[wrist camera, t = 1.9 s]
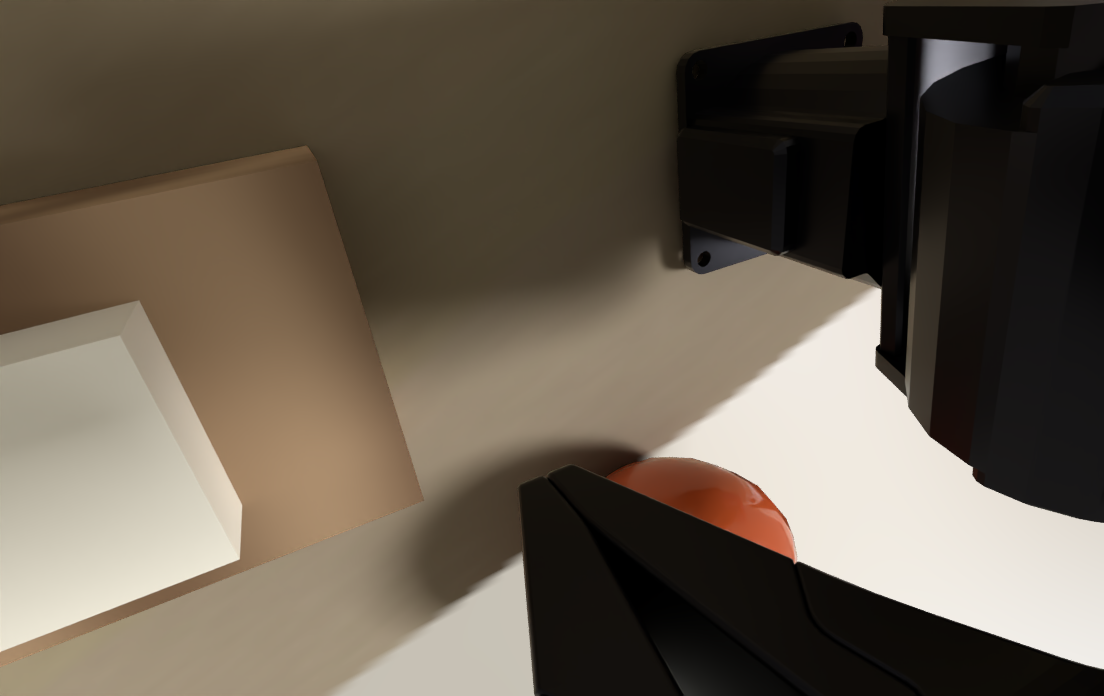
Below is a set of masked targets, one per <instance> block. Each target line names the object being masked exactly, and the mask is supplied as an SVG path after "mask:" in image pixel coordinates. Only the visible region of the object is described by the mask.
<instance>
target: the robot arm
mask: <svg viewBox="0 0 1104 696" xmlns="http://www.w3.org/2000/svg"><path fill="white" fill-rule="evenodd" d="M883 35H886V36H888V45H884V46H865V47H862V41H863V32H862V29H861V26H860V25H859V24H858V23H855V22H849V23H840V24H834V25H829V26H823V27H818V28H813V29H807V30H802V31H796V32H791V33H785V34H780V35H775V36H769V37H764V38H758V39H753V40H748V41H742V42H737V43H731V44H726V45H721V46H715V47H710V48H704V49H699V50H693V51H690V52H687V53H685V54H684V55H683V56H682V57H681V58H680V60H679V63H678V65H677V72H676V79H677V104H678V129H679V135H678V138H677V152H678V176H679V201H680V219H681V220H682V230H683V256H684V264H685V266H686V267H687V269H689V270H691V271H693V272H696V273H698V274H705V273H708V272H711V271H715V270H718V269H721V268H724V267H727V266H730V265H733V264H736V263H739V262H742V261H746V260H749V259H752V258H755V257H758V256H761V255H764V254H767V253H768V254H771V255H774V256H782V257H784V258H787V259H790V260H793V261H796V262H799V263H802V264H805V265H808V266H810V267H813V268H816V269H819V270H822V271H825V272H828V273H831V274H834V275H837V276H839V277H842V278H845V279H853V280H856V281H859V282H862V283H865V284H868V285H871V286H874V287H877V288H880V289H882V292H881V327H880V328H881V329H880V330H881V331H880V344H879V345H878V346H877V347H876V363H875V366H876V367H877V368H878V369H879V370H880V371H881V372H882V373H883V374H884V375H885V376H886V377H887V378H888V379H889V380H890V381H891V382H892V383H893V384H894V385H895V386H896V387H897V388H898V389H899V390H900V391H901V392H902V393H903V394H904V395H905V396H907V399H908V407H909V409H910V410H911V412H912V413H913V414H914V416H915V417H916V418H917V420H918V421H919V423H920V424H921V425H922V427H923V428H924V430H925V431H926V432H927V434H928V435H929V436H930V437H931V438H933V439H934V440H935V441H937V442H938V443H939V444H941V445H942V446H944V447H945V448H947V449H948V450H949V451H950V452H952V453H953V454H954V455H956V456H957V457H959V458H960V459H961V460H963V461H964V462H965V463H967V464H968V465H970V466H972V467H973V474H972V475H973V477H974V478H975V480H976V481H977V482H979V483H980V484H982V485H983V486H985V487H987V488H990V489H992V490H994V491H996V492H999V493H1001V494H1004V495H1006V496H1008V497H1011V498H1013V499H1015V500H1018V501H1020V502H1022V503H1025V504H1028V505H1031V506H1034V507H1038V508H1042V509H1045V510H1049V511H1052V512H1057V513H1060V514H1063V515H1067V516H1071V517H1075V518H1078V519H1083V520H1089V521H1094V522H1101V523H1104V0H895V1H893V2H890V3H887V4H885V5H884V9H883ZM845 37H846V43H845V46H844V40H845ZM695 63H697V64H698V67H699V72H698V75H697V77H696V78H694V77H693V74H692V70H693V66H694V64H695ZM702 252H703V258H702V259H701V261H700V262H698V257H699V255H700V254H701V253H702ZM517 492H518V504H519V516H520V528H521V540H522V552H523V564H524V575H525V588H526V600H527V612H528V623H529V635H530V647H531V660H532V672H533V685H534V694H535V696H1104V669H1100V668H1095V667H1092V666H1087V665H1084V664H1081V663H1078V662H1074V661H1071V660H1068V659H1064V658H1061V657H1058V656H1055V655H1052V654H1049V653H1047V652H1043V651H1041V650H1038V649H1034V648H1032V647H1029V646H1026V645H1023V644H1020V643H1017V642H1014V641H1011V640H1008V639H1005V638H1002V637H999V636H996V635H994V634H991V633H988V632H985V631H982V630H979V629H976V628H973V627H970V626H967V625H964V624H961V623H958V622H955V621H952V620H949V619H946V618H944V617H941V616H937V615H935V614H932V613H928V612H926V611H923V610H920V609H918V608H915V607H912V606H909V605H907V604H904V603H901V602H898V601H896V600H893V599H890V598H887V597H884V596H882V595H879V594H876V593H874V592H871V591H869V590H866V589H864V588H861V587H859V586H856V585H854V584H851V583H849V582H846V581H844V580H842V579H839V578H837V577H834V576H832V575H829V574H827V573H825V572H822V571H820V570H818V569H815V568H813V567H811V566H808V565H806V564H804V563H801V562H796V563H795V564H794V561H793V559H791V558H789V557H787V556H785V555H782V554H780V553H778V552H776V551H773V550H771V549H769V548H766V547H764V546H762V545H759V544H757V543H755V542H752V541H750V540H748V539H745V538H743V537H741V536H739V535H736V534H734V533H732V532H729V531H727V530H725V529H722V528H720V527H718V526H715V525H713V524H711V523H709V522H706V521H704V520H702V519H699V518H697V517H695V516H692V515H690V514H688V513H685V512H683V511H681V510H678V509H676V508H674V507H672V506H669V505H667V504H665V503H662V502H660V501H658V500H655V499H653V498H651V497H648V496H646V495H644V494H641V493H639V492H637V491H635V490H632V489H630V488H628V487H625V486H623V485H621V484H618V483H616V482H614V481H611V480H609V479H607V478H605V477H602V476H600V475H598V474H595V473H593V472H591V471H588V470H586V469H584V468H581V467H579V466H577V465H574V464H569V465H566V466H563V467H561V468H558V469H556V470H553V471H551V472H549V473H548V474H547V475H546V477H545V476H538V477H536V478H533V479H531V480H528V481H526V482H523V483H521V484H519V485H518V488H517Z"/></svg>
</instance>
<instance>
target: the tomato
mask: <svg viewBox="0 0 1104 696" xmlns="http://www.w3.org/2000/svg"><path fill="white" fill-rule="evenodd" d="M606 478H607V479H609V480H611V481H614V482H616V483H618V484H621V485H623V486H625V487H628V488H630V489H632V490H635V491H637V492H639V493H641V494H644V495H646V496H648V497H651V498H653V499H655V500H658V501H660V502H662V503H665V504H667V505H669V506H672V507H674V508H676V509H678V510H681V511H683V512H685V513H688V514H690V515H692V516H695V517H697V518H699V519H702V520H704V521H706V522H709V523H711V524H713V525H715V526H718V527H720V528H722V529H725V530H727V531H729V532H732V533H734V534H736V535H739V536H741V537H743V538H745V539H748V540H750V541H752V542H755V543H757V544H759V545H762V546H764V547H766V548H769V549H771V550H773V551H776V552H778V553H780V554H782V555H785V556H787V557H789V558H791V559H793V561H794V564H795V563H796V562H797V553H796V548H795V543H794V539H793V534H792V532H791V530H790V527H789V524H788V522H787V519H786V518H785V517H784V515H783V514H782V513H781V512H780V510H779V509H778V508H777V507H776V506H775V505H774V503H773V502H772V501H771V500H770V499H769V498H768V497H767V496H766V495H765V494H764V492H763V491H762V490H761V489H760V488H759V487H758V486H757V485H755V484H753V483H752V482H750V481H748V480H747V479H745V478H743V477H741V476H739V475H738V474H736V473H734V472H731V471H728V470H726V469H724V468H721V467H719V466H716V465H713V464H710V463H706V462H703V461H700V460H696V459H693V458H677V457H659V458H649V459H646V460H643V461H640V462H634V463H631V464H628V465H626V466H623V467H621V468H619V469H617V470H616V471H614V472H612V473H611V474H609V475H608V476H607V477H606Z"/></svg>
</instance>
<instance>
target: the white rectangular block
mask: <svg viewBox="0 0 1104 696" xmlns="http://www.w3.org/2000/svg"><path fill="white" fill-rule="evenodd" d="M241 520H242V504H241V502H240V500H239V498H238V496H237V494H236V492H235V490H234V488H233V486H232V484H231V482H230V480H229V478H228V476H227V474H226V472H225V470H224V468H223V466H222V464H221V462H220V460H219V458H218V456H217V454H216V452H215V450H214V448H213V446H212V444H211V442H210V440H209V438H208V436H207V434H206V432H205V430H204V428H203V426H202V424H201V422H200V420H199V418H198V416H197V414H196V412H195V410H194V408H193V406H192V404H191V402H190V400H189V398H188V396H187V394H186V392H185V390H184V388H183V387H182V385H181V383H180V381H179V379H178V377H177V375H176V373H175V371H174V369H173V367H172V365H171V363H170V361H169V359H168V357H167V355H166V353H165V351H164V349H163V347H162V345H161V343H160V341H159V339H158V337H157V335H156V333H155V331H154V329H153V327H152V325H151V323H150V321H149V319H148V317H147V315H146V313H145V311H144V309H143V307H142V305H141V303H140V301H139V300H138V301H134V302H130V303H126V304H122V305H118V306H114V307H110V308H106V309H102V310H98V311H94V312H90V313H86V314H82V315H78V316H74V317H70V318H66V319H62V320H58V321H54V322H50V323H46V324H42V325H38V326H34V327H30V328H26V329H22V330H18V331H14V332H10V333H6V334H2V335H0V652H1V651H4V650H6V649H9V648H12V647H14V646H17V645H19V644H22V643H25V642H27V641H30V640H32V639H35V638H38V637H40V636H43V635H45V634H48V633H50V632H53V631H56V630H58V629H61V628H63V627H66V626H69V625H71V624H74V623H76V622H79V621H82V620H84V619H87V618H89V617H92V616H94V615H97V614H100V613H102V612H105V611H107V610H110V609H113V608H115V607H118V606H120V605H123V604H126V603H128V602H131V601H133V600H136V599H138V598H141V597H144V596H146V595H149V594H151V593H154V592H157V591H159V590H162V589H164V588H167V587H170V586H172V585H175V584H177V583H180V582H182V581H185V580H188V579H190V578H193V577H195V576H198V575H201V574H203V573H206V572H208V571H211V570H213V569H216V568H219V567H221V566H224V565H226V564H229V563H232V562H234V561H237V560H239V559H240V543H241Z"/></svg>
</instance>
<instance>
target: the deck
mask: <svg viewBox="0 0 1104 696" xmlns="http://www.w3.org/2000/svg"><path fill="white" fill-rule="evenodd" d="M138 300H139V301H140V303H141V305H142V307H143V309H144V311H145V313H146V315H147V317H148V319H149V321H150V323H151V325H152V327H153V329H154V331H155V333H156V335H157V337H158V339H159V341H160V343H161V345H162V347H163V349H164V351H165V353H166V355H167V357H168V359H169V361H170V363H171V365H172V367H173V369H174V371H175V373H176V375H177V377H178V379H179V381H180V383H181V385H182V387H183V388H184V390H185V392H186V394H187V396H188V398H189V400H190V402H191V404H192V406H193V408H194V410H195V412H196V414H197V416H198V418H199V420H200V422H201V424H202V426H203V428H204V430H205V432H206V434H207V436H208V438H209V440H210V442H211V444H212V446H213V448H214V450H215V452H216V454H217V456H218V458H219V460H220V462H221V464H222V466H223V468H224V470H225V472H226V474H227V476H228V478H229V480H230V482H231V484H232V486H233V488H234V490H235V492H236V494H237V496H238V498H239V500H240V502H241V504H242V520H241V543H240V559H239V560H237V561H234V562H232V563H229V564H226V565H224V566H221V567H219V568H216V569H213V570H211V571H208V572H206V573H203V574H201V575H198V576H195V577H193V578H190V579H188V580H185V581H182V582H180V583H177V584H175V585H172V586H170V587H167V588H164V589H162V590H159V591H157V592H154V593H151V594H149V595H146V596H144V597H141V598H138V599H136V600H133V601H131V602H128V603H126V604H123V605H120V606H118V607H115V608H113V609H110V610H107V611H105V612H102V613H100V614H97V615H94V616H92V617H89V618H87V619H84V620H82V621H79V622H76V623H74V624H71V625H69V626H66V627H63V628H61V629H58V630H56V631H53V632H50V633H48V634H45V635H43V636H40V637H38V638H35V639H32V640H30V641H27V642H25V643H22V644H19V645H17V646H14V647H12V648H9V649H6V650H4V651H1V652H0V667H2V666H4V665H7V664H9V663H12V662H14V661H17V660H19V659H22V658H24V657H27V656H30V655H32V654H35V653H37V652H40V651H42V650H45V649H47V648H50V647H52V646H55V645H58V644H60V643H63V642H65V641H68V640H70V639H73V638H75V637H78V636H80V635H83V634H86V633H88V632H91V631H93V630H96V629H98V628H101V627H103V626H106V625H108V624H111V623H114V622H116V621H119V620H121V619H124V618H126V617H129V616H131V615H134V614H136V613H139V612H142V611H144V610H147V609H149V608H152V607H154V606H157V605H159V604H162V603H164V602H167V601H170V600H172V599H175V598H177V597H180V596H182V595H185V594H187V593H190V592H192V591H195V590H198V589H200V588H203V587H205V586H208V585H210V584H213V583H215V582H218V581H220V580H223V579H226V578H228V577H231V576H233V575H236V574H238V573H241V572H243V571H246V570H248V569H251V568H254V567H256V566H259V565H261V564H264V563H266V562H269V561H271V560H274V559H276V558H279V557H282V556H284V555H287V554H289V553H292V552H294V551H297V550H299V549H302V548H304V547H307V546H310V545H312V544H315V543H317V542H320V541H322V540H325V539H327V538H330V537H332V536H335V535H338V534H340V533H343V532H345V531H348V530H350V529H353V528H355V527H358V526H360V525H363V524H366V523H368V522H371V521H373V520H376V519H378V518H381V517H383V516H386V515H388V514H391V513H394V512H396V511H399V510H401V509H404V508H406V507H409V506H411V505H414V504H416V503H419V502H422V501H424V499H423V495H422V492H421V489H420V486H419V483H418V480H417V476H416V473H415V470H414V467H413V464H412V460H411V457H410V454H409V451H408V448H407V445H406V441H405V438H404V435H403V432H402V429H401V426H400V422H399V419H398V416H397V413H396V410H395V407H394V403H393V400H392V397H391V394H390V391H389V387H388V384H387V381H386V378H385V375H384V372H383V368H382V365H381V362H380V359H379V356H378V353H377V349H376V346H375V343H374V340H373V337H372V333H371V330H370V327H369V324H368V321H367V318H366V314H365V311H364V308H363V305H362V302H361V299H360V295H359V292H358V289H357V286H356V283H355V280H354V276H353V273H352V270H351V267H350V264H349V260H348V257H347V254H346V251H345V248H344V245H343V241H342V238H341V235H340V232H339V229H338V226H337V222H336V219H335V216H334V213H333V210H332V207H331V203H330V200H329V197H328V194H327V191H326V187H325V184H324V181H323V178H322V175H321V172H320V168H319V165H318V162H317V160H316V158H315V157H314V155H313V154H312V152H311V151H310V149H309V148H308V146H307V145H306V146H301V147H296V148H291V149H286V150H280V151H275V152H270V153H265V154H260V155H255V156H250V157H245V158H240V159H235V160H229V161H224V162H219V163H214V164H209V165H204V166H199V167H194V168H189V169H184V170H179V171H173V172H168V173H163V174H158V175H153V176H148V177H143V178H138V179H133V180H128V181H122V182H117V183H112V184H107V185H102V186H97V187H92V188H87V189H82V190H77V191H71V192H66V193H61V194H56V195H51V196H46V197H41V198H36V199H31V200H26V201H21V202H15V203H10V204H5V205H0V335H2V334H6V333H10V332H14V331H18V330H22V329H26V328H30V327H34V326H38V325H42V324H46V323H50V322H54V321H58V320H62V319H66V318H70V317H74V316H78V315H82V314H86V313H90V312H94V311H98V310H102V309H106V308H110V307H114V306H118V305H122V304H126V303H130V302H134V301H138Z"/></svg>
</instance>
